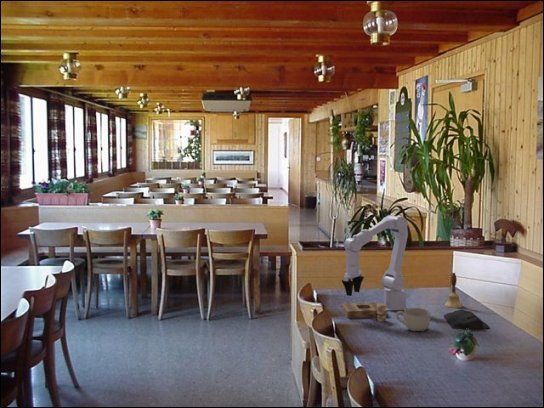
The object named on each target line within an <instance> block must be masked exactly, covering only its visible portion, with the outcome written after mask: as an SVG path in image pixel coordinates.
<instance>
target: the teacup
mask: <svg viewBox="0 0 544 408" xmlns="http://www.w3.org/2000/svg"><path fill="white" fill-rule="evenodd" d="M400 314H401V315H402V317H403V319H404V320H403V319H401V318H400V317H399V315H400ZM395 318H396V320H397V321H399V323H402V324H403V325H404V326H405V327H406V328H407V329H408V330H410V331H412V332H415V331H422V332H424V331H423V330H425V331H426V330H427V329H428V328H429V327H430V323H431V311H430V310H428V309H426V308H422V307H408V308H406V309H405V310H397V312H396V313H395Z"/></svg>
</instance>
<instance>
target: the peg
mask: <svg viewBox="0 0 544 408" xmlns="http://www.w3.org/2000/svg"><path fill="white" fill-rule="evenodd" d="M377 315H378V317H377V322H380V323H384V322H386V317H385V315H386V305H385V303H381V304H377Z"/></svg>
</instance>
